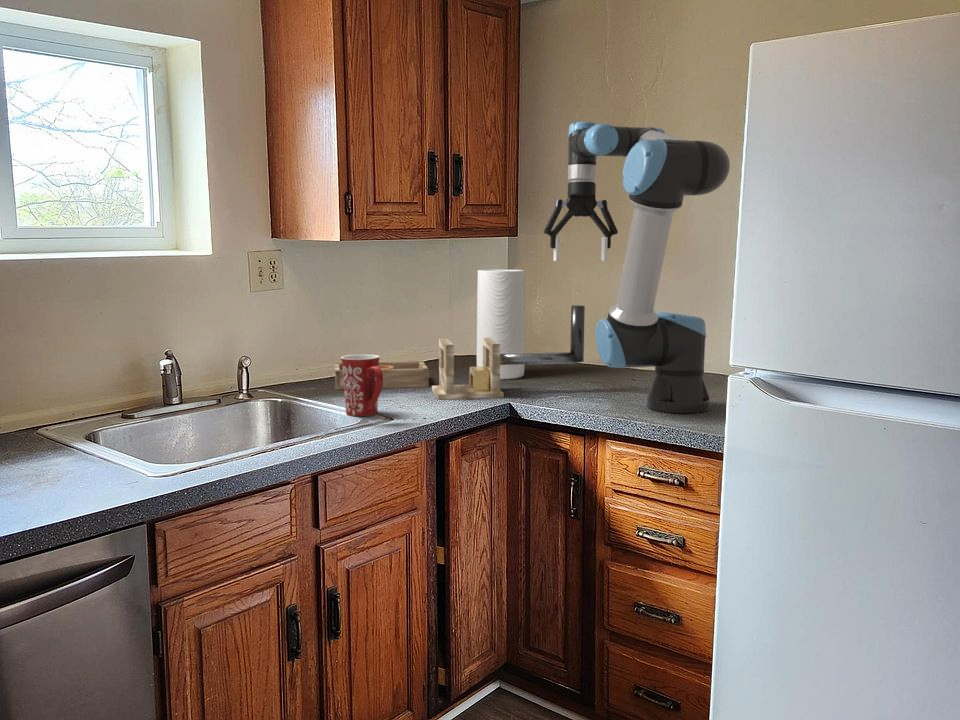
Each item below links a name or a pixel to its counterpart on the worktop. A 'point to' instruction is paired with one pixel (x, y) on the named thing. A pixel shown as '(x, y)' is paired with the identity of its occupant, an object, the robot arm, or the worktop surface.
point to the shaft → (555, 358)
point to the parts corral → (395, 375)
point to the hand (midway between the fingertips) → (580, 261)
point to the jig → (464, 391)
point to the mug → (362, 384)
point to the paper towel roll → (502, 315)
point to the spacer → (479, 378)
